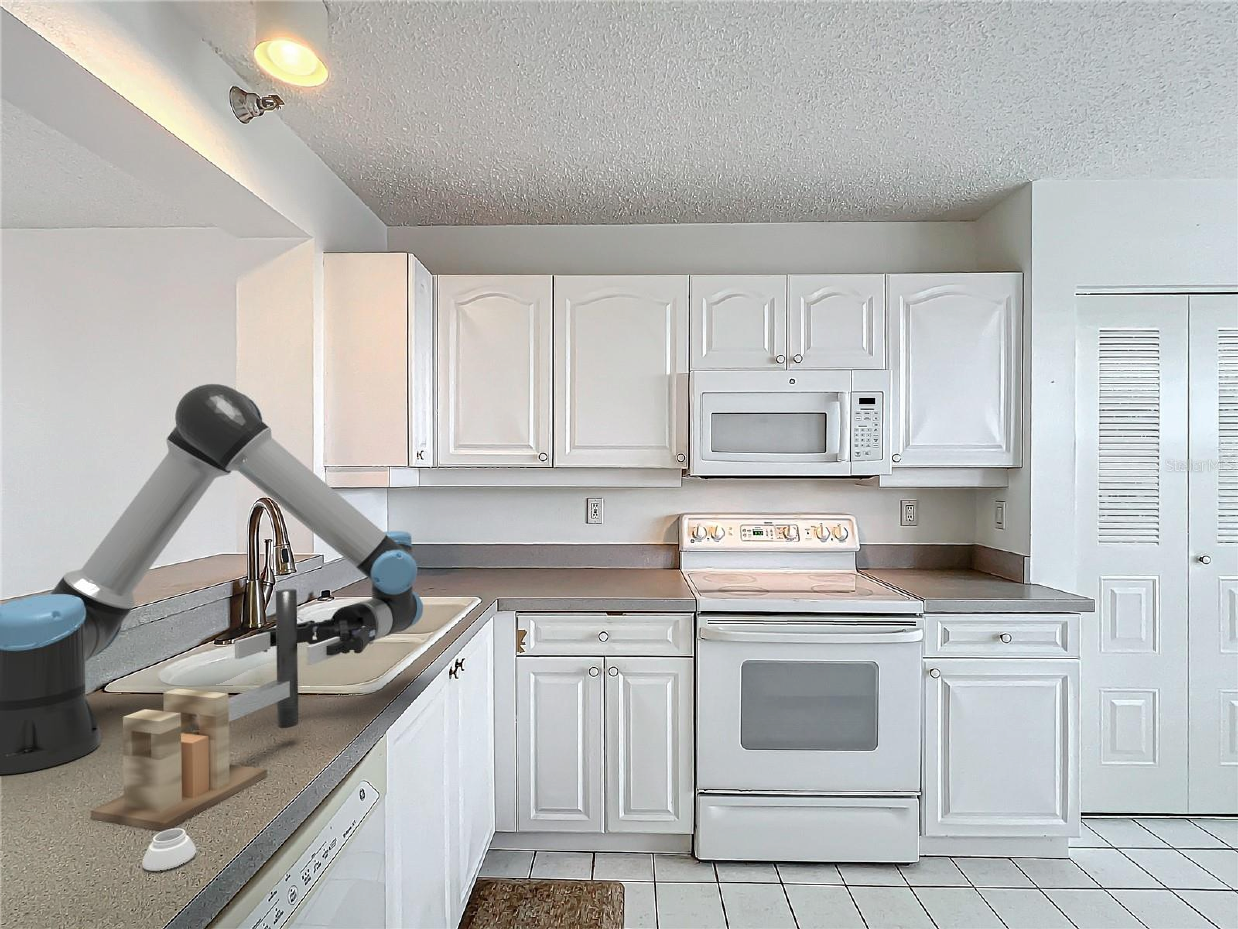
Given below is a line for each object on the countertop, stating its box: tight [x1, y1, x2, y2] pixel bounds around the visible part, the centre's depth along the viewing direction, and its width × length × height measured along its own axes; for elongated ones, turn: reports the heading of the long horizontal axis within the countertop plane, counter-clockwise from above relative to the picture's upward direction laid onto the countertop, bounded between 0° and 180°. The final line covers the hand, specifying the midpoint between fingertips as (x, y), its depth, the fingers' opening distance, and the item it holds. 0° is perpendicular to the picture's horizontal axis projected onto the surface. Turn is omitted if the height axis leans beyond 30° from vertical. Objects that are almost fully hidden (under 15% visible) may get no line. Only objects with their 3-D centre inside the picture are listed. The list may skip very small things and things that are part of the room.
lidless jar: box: [141, 827, 197, 872], centre depth 81 cm, size 5×3×5 cm
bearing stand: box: [90, 688, 268, 832], centre depth 96 cm, size 12×16×13 cm
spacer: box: [181, 733, 209, 798], centre depth 96 cm, size 7×2×7 cm, turn 73°
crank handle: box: [191, 588, 299, 732], centre depth 107 cm, size 3×18×21 cm, turn 163°
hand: (271, 653), depth 111 cm, fingers open, 13 cm apart
